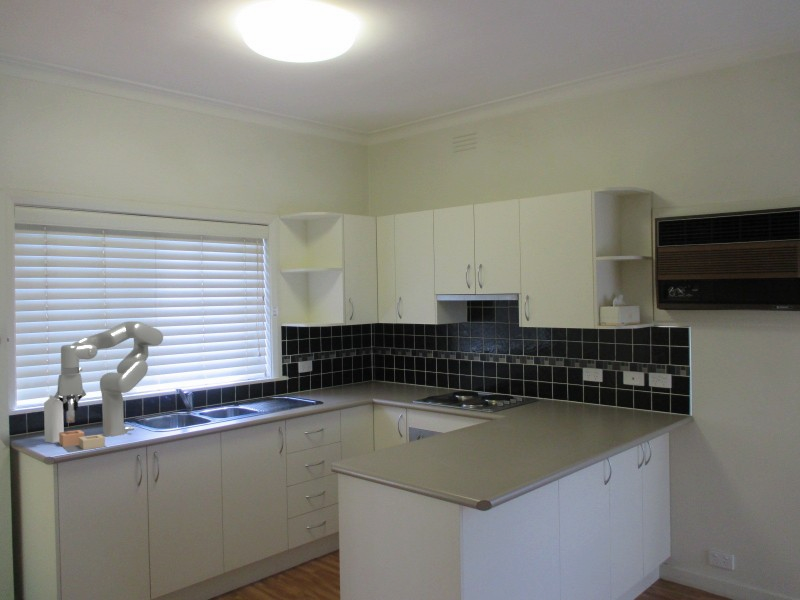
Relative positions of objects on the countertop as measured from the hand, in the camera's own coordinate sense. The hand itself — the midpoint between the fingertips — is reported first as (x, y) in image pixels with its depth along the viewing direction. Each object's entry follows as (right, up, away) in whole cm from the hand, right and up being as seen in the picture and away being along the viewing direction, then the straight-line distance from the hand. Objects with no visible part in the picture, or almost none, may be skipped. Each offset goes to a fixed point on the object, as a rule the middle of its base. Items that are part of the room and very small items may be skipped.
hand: (70, 410), depth 307 cm
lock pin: (0, -6, 0) cm, 6 cm away
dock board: (+6, -17, -2) cm, 18 cm away
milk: (-13, -17, +11) cm, 24 cm away
